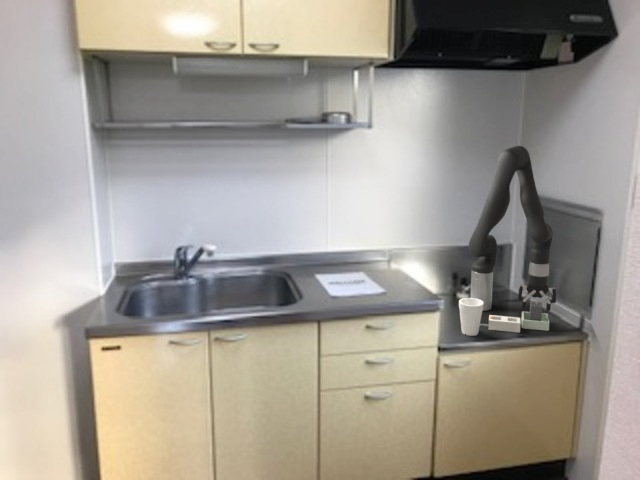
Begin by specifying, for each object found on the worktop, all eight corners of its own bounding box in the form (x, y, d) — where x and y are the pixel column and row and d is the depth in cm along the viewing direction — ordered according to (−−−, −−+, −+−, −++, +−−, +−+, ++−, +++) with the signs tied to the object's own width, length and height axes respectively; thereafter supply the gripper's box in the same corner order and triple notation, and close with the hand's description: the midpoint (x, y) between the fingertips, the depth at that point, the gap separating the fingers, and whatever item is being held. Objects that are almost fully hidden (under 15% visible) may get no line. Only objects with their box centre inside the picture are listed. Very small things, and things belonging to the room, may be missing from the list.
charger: (529, 320, 223) (530, 300, 221) (539, 321, 222) (541, 301, 220) (529, 325, 218) (531, 304, 216) (540, 327, 217) (542, 305, 214)
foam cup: (467, 338, 208) (468, 307, 205) (453, 330, 217) (454, 300, 213) (487, 334, 212) (488, 303, 209) (472, 326, 220) (473, 296, 217)
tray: (521, 319, 226) (521, 311, 225) (546, 321, 223) (547, 313, 222) (522, 328, 217) (522, 320, 216) (548, 330, 214) (549, 322, 213)
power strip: (473, 322, 224) (474, 312, 223) (519, 326, 218) (520, 316, 217) (473, 327, 218) (473, 317, 217) (519, 332, 213) (520, 322, 212)
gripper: (556, 271, 216) (553, 309, 220) (519, 269, 221) (517, 306, 224) (558, 277, 209) (555, 315, 213) (520, 274, 214) (517, 312, 217)
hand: (535, 310), depth 219 cm, fingers open, 8 cm apart
